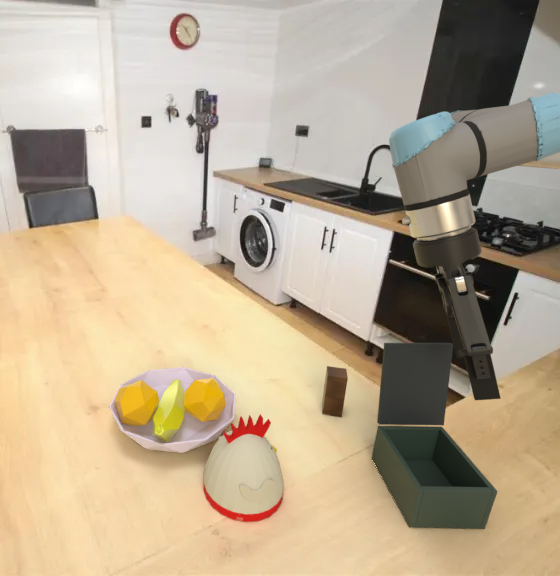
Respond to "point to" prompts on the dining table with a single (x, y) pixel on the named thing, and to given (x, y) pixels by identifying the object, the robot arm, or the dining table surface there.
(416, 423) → the dark grey flat panel
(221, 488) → the kitchen timer
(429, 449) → the dark green tray box
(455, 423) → the dining table surface
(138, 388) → the fruit bowl
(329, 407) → the block
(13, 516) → the dining table surface
